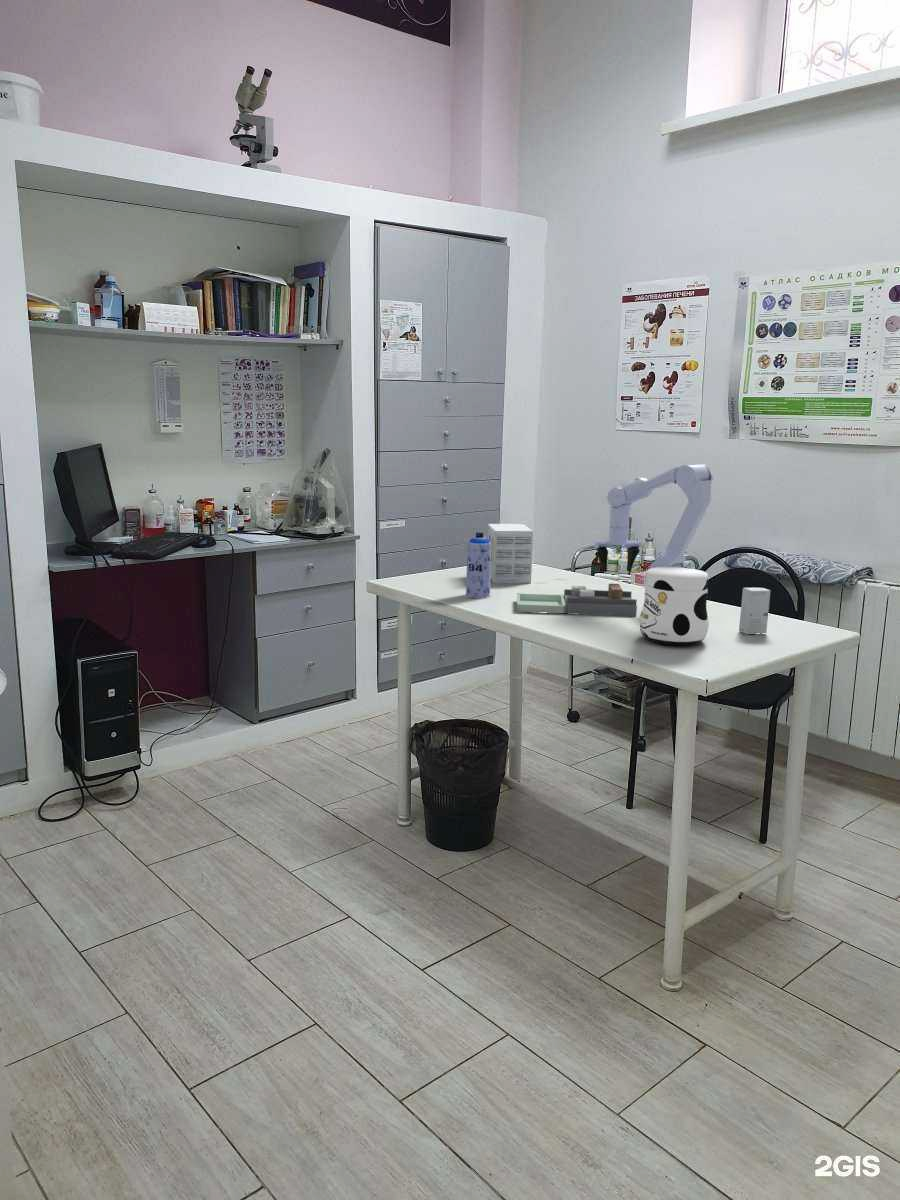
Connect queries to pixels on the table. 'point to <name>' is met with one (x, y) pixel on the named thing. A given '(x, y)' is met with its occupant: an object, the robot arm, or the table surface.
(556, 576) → the table surface
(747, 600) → the skincare box
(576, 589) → the grey small block
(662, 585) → the milk container
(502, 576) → the supplement box
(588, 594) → the chip near
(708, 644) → the table surface
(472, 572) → the aerosol can
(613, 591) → the bar
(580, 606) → the channel board
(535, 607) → the chip tray
